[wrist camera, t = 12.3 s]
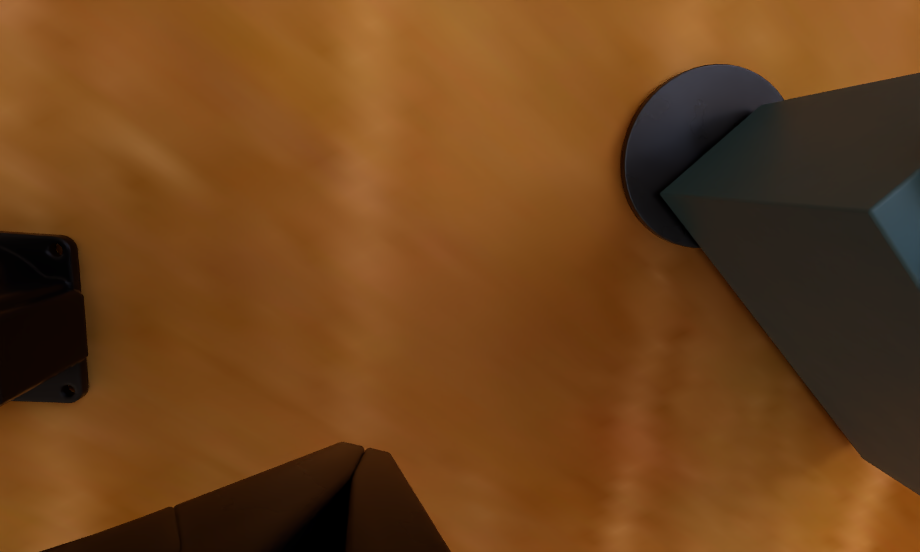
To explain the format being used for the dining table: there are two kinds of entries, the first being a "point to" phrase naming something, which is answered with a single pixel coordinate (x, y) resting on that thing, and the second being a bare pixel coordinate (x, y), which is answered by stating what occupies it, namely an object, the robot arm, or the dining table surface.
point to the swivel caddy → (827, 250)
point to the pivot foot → (684, 136)
